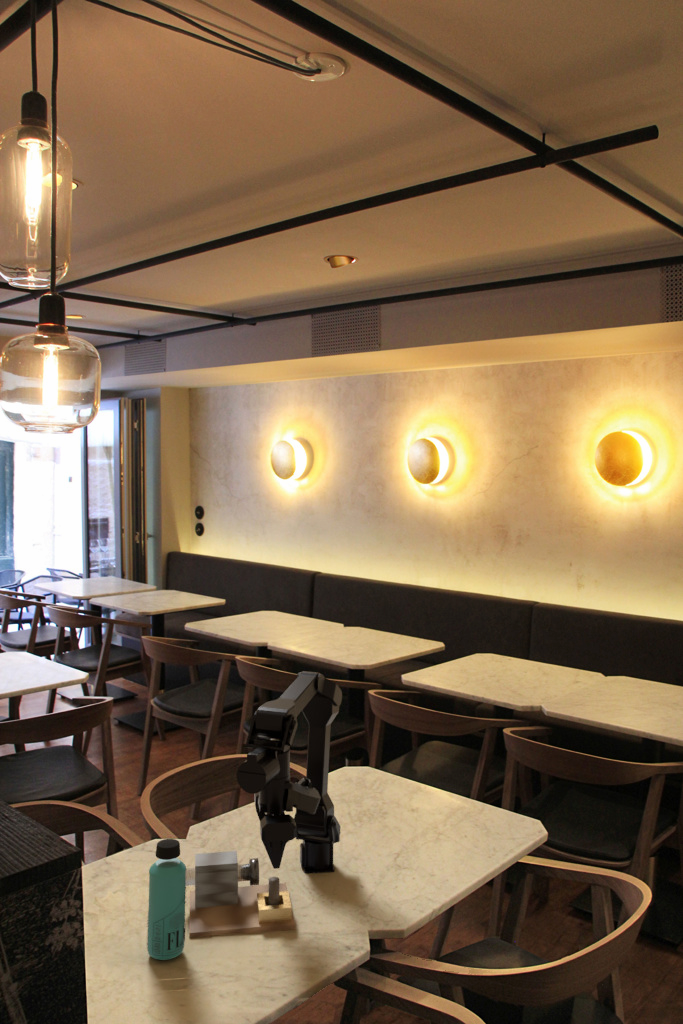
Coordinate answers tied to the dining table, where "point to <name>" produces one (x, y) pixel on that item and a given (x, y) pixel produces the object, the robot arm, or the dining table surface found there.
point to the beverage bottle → (166, 902)
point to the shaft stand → (228, 899)
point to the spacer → (274, 908)
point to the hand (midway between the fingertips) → (274, 856)
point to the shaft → (244, 873)
